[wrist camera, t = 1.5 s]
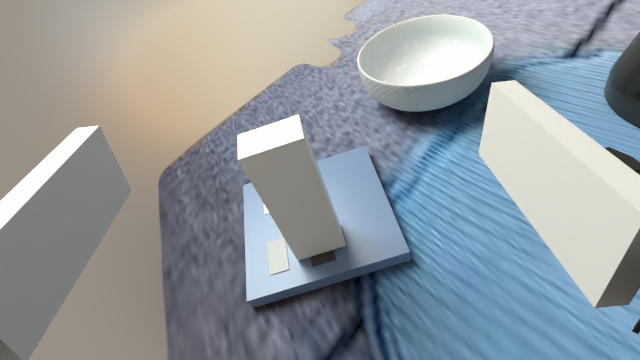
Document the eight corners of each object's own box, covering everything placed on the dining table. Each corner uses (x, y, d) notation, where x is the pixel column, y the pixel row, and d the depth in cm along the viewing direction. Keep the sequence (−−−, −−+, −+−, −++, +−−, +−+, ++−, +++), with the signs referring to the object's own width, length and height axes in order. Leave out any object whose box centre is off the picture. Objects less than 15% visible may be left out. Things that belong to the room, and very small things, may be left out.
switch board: (411, 260, 35) (409, 251, 34) (253, 308, 36) (246, 300, 35) (367, 154, 46) (364, 145, 45) (248, 193, 47) (243, 184, 46)
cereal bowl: (343, 115, 53) (331, 72, 48) (401, 54, 60) (396, 11, 56) (457, 144, 44) (457, 94, 39) (510, 67, 51) (516, 17, 46)
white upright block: (346, 245, 36) (304, 137, 26) (297, 260, 36) (237, 159, 26) (339, 222, 38) (298, 114, 28) (293, 236, 38) (237, 135, 28)
